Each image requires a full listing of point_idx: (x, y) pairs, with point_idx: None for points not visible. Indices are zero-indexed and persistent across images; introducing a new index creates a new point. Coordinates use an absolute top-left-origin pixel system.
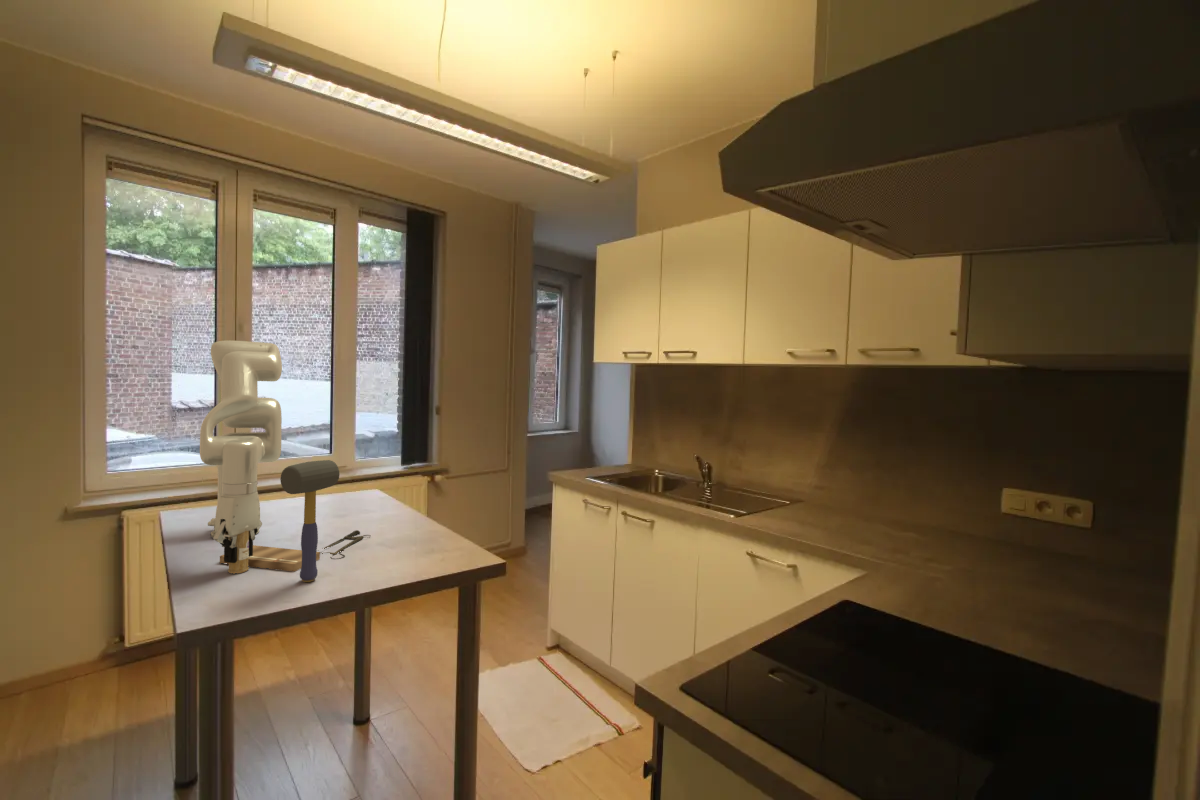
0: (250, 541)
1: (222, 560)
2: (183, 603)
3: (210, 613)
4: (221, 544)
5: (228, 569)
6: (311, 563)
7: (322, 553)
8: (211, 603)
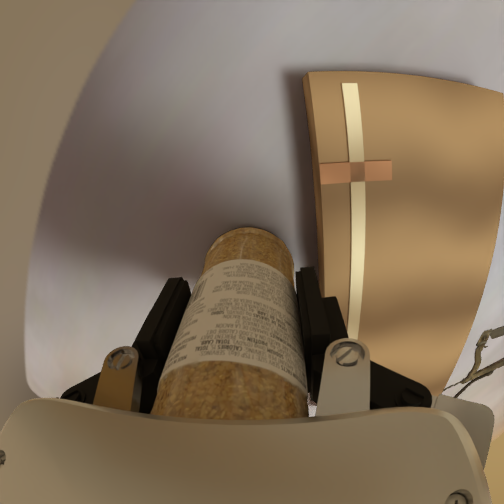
0: (310, 396)
1: (307, 93)
2: (30, 323)
3: (60, 390)
4: (89, 380)
5: (216, 243)
6: None
7: (475, 356)
8: (69, 371)
